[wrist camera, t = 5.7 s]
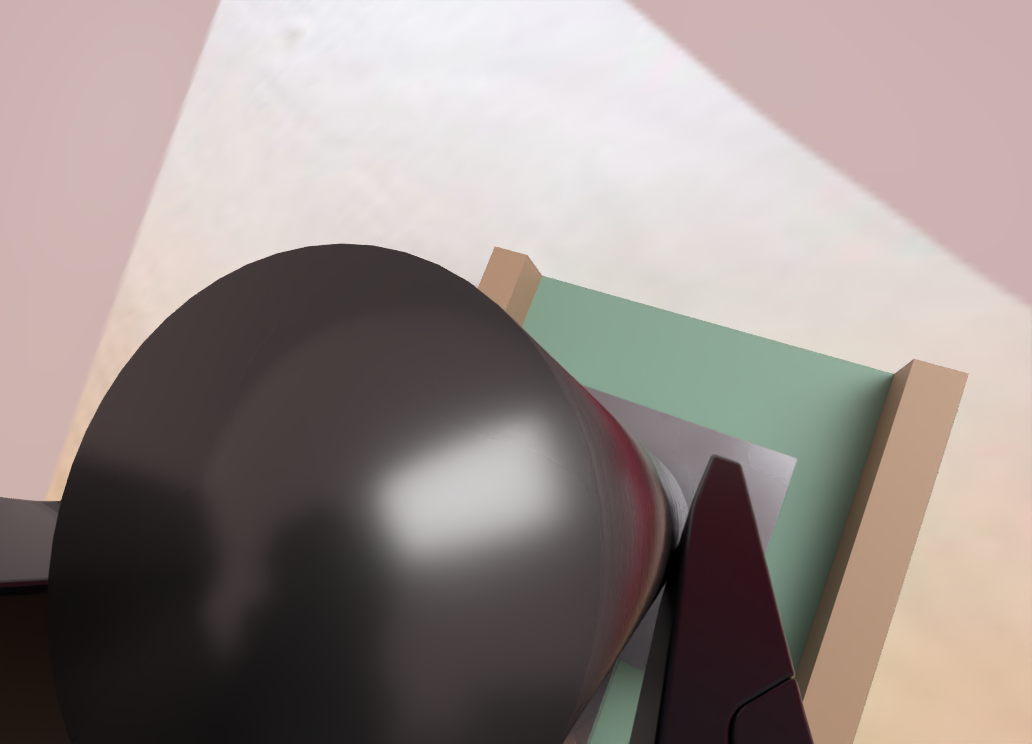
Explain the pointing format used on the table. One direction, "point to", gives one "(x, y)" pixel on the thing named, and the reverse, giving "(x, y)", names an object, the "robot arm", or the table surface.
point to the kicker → (364, 520)
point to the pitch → (782, 428)
